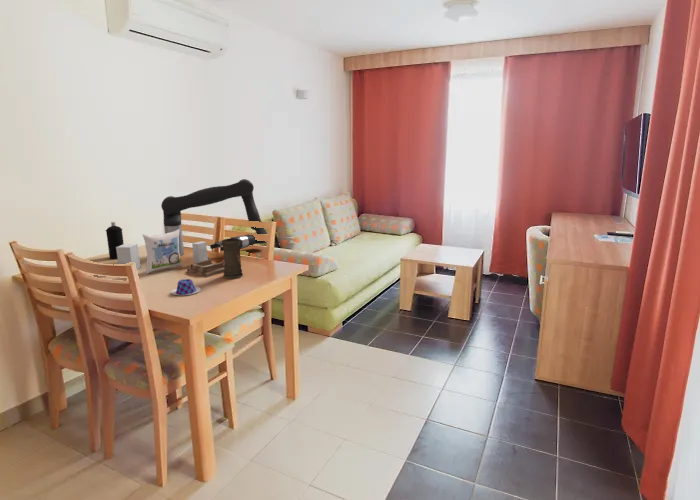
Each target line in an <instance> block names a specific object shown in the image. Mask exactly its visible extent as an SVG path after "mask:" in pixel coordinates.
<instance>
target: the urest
mask: <svg viewBox="0 0 700 500" xmlns="http://www.w3.org/2000/svg"><path fill="white" fill-rule="evenodd" d="M186 271H187V272H189V273H192V274H196V275H199V276H203V277H206V278H208V277H209V278H210V277H212V276H215V275H218V274H224V261H223V262H222V261H220V262H217V263H215V262H212V259H208V260H205V261H201V262H197V263H194V262H192V263H190V267H188V268H186Z"/></svg>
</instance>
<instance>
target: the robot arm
mask: <svg viewBox="0 0 700 500" xmlns="http://www.w3.org/2000/svg"><path fill="white" fill-rule="evenodd" d="M239 197H241V199H242V202H243V204H244V209H245V212H246V216H247V220H248V222H249V221H259V222H261V223H262V220H261V216H260V213H259V210H258V208H257V206H256V202H255V200H254V184H253V183H252V181H250V180H249V179H246V178H244V179H241V180H239V181H238V182H235V183H232V184H228V185H220V186H211V187H206V188H202V189H199V190H196V191H193V192H191V193H189V194H186V195H181V196H171V195H170V196H167V197H165V198H164V199H163V200H162V202H161V205H160V206H161V207H160V208H161V209H162V211H163V231H164V234H166V233H170V232H173V231H176V230H178V229H180V231H179V252H180V256H183V255H184V253H185V251H184V238H183V237H184V236H183V230H182V229H183V228H182V212H181V211H184V210H187V209H191V208H198V207H205V206H209V205H212V204H216V203H219V202H223V201H225V200H229V199H232V198H239ZM264 228H265V227H264ZM264 228H256V227H255V228H254V227H250V229H251V230H253V231H255V233H257V234H268V232H267V231H266V229H264ZM231 238H236V239H240V245H239V246H240V250H242V249H243V250H244V249H246V248H248V246H249V245H252V246H255V245H263V244H267V242H265V241H257V240H255V237H254V236H253V235H249V234H244V235H237V236H234V237H232V236H231ZM249 247H250V246H249ZM210 249H211V250H212V249H220V251H221V252H223V243H222V240H221V241H215V242H214V243H213V244H210Z"/></svg>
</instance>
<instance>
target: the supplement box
mask: <svg viewBox="0 0 700 500" xmlns="http://www.w3.org/2000/svg"><path fill="white" fill-rule="evenodd" d="M116 251H117V258H118V259H117V265H118V264H126V263H129V262H135V263H136V268H137V270H139V269H141V261H140V253H139V246H138V243H137V244H135V243H133V244H132V243H124V244H123V245H121V246H118V247H116Z"/></svg>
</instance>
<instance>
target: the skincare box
mask: <svg viewBox="0 0 700 500" xmlns="http://www.w3.org/2000/svg"><path fill="white" fill-rule="evenodd" d="M191 246H192V256H193V263H197V262H201V261H205V260H209V259H208V249H207V242H206V241H202V240H201V241H197V242H196V241H195V242H192V245H191Z"/></svg>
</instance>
